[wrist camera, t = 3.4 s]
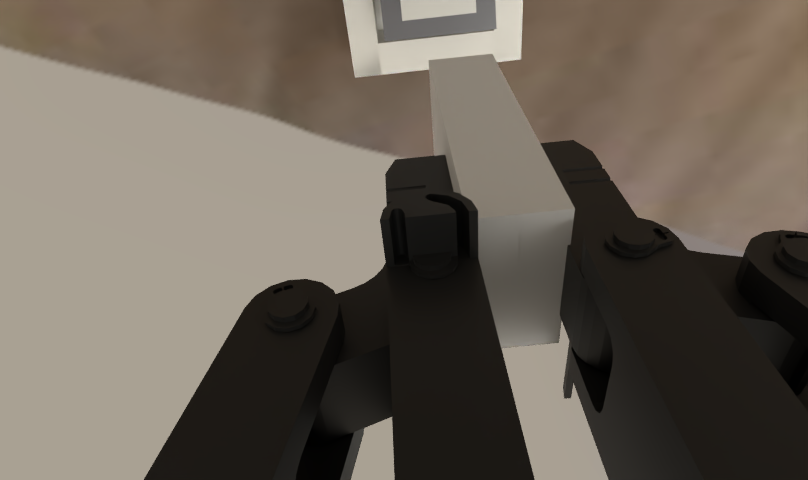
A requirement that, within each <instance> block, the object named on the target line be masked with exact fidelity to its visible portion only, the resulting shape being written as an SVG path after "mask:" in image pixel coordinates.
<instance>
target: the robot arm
mask: <svg viewBox="0 0 808 480" xmlns="http://www.w3.org/2000/svg"><path fill="white" fill-rule="evenodd" d="M429 77H430V94H431V110H432V127H433V144H434V156H428V157H418V158H407V159H397V160H395V161H394V162H393V164H392V165H391V167H390V168H389V170H388V171H387V173H386V174H385V175H386V198H387V206H386V207H385V208H384V210H383V212H382V216H381V219H380V223H381V230H382V238H383V245H384V253H385V260H386V263H385V265H384V267H383V269H382V270H381V271H380V272H379V273H378V274H377V275H376V276H375V277H373V278H372V279H370V280H369V281H367V282H366V283H364V284H362V285H359V286H357V287H355V288H352V289H350V290H347V291H344V292H341V293H338V294H335V292H334V290H332V289H331V288H329V287H328V286H326V285H325V284H323V283H321V282H317V281H312V280H308V279H300V280H288V281H285V282H282V283H279V284H276V285H273V286H270V287H268V288H267V289H265V290H264V291H262V292H261V293H259V294H257V295H256V296H255V297H254V298H253V299H252V300H251V302H250V303H249V304H248V305H247V306H246V307H245V308H244V310H243V312H242V313H241V315H240V317H239V319H238V320H237V322H236V324H235V325H234V327H233V329H232V330H231V332H230V334H229V336H228V338H227V339H226V341H225V343H224V344H223V346H222V347H221V349H220V351H219V353H218V354H217V356H216V358H215V359H214V361H213V363H212V364H211V366H210V368H209V370H208V371H207V373H206V375H205V376H204V378H203V380H202V382H201V383H200V385H199V387H198V388H197V390H196V392H195V394H194V395H193V397H192V398H191V400H190V402H189V404H188V405H187V407H186V409H185V410H184V412H183V414H182V416H181V417H180V419H179V421H178V422H177V424H176V426H175V427H174V429H173V431H172V433H171V434H170V436H169V438H168V440H167V441H166V443H165V445H164V446H163V448H162V450H161V451H160V453H159V455H158V456H157V458H156V460H155V462H154V463H153V465H152V467H151V468H150V470H149V472H148V474H147V475H146V477H145V479H144V480H351V476H352V473H353V469H354V466H355V462H356V458H357V455H358V451H359V448H360V444H361V441H362V437H363V432H364V428H365V427H368V426H370V425H372V424H375V423H377V422H380V421H382V420H384V419H387V418H389V417H392V421H393V447H394V473H395V480H534V476H533V472H532V468H531V464H530V460H529V456H528V452H527V448H526V444H525V440H524V436H523V432H522V429H521V425H520V420H519V416H518V413H517V409H516V405H515V401H514V397H513V393H512V389H511V385H510V381H509V377H508V373H507V369H506V366H505V361H504V358H503V353H502V350H501V348H507V347H518V346H529V345H540V344H550V343H558V342H559V336H560V328H561V320H562V322H563V325H564V327H565V330H566V332H567V335H568V338H569V340H570V342H569V348H568V356H567V363H566V370H565V377H564V385H563V390H564V398H571V394H572V388H573V382H574V385H575V388H576V390H577V393H578V396H579V399H580V401H581V404H582V407H583V410H584V413H585V415H586V418H587V421H588V424H589V426H590V429H591V432H592V435H593V437H594V440H595V443H596V446H597V449H598V452H599V454H600V457H601V460H602V463H603V465H604V468H605V471H606V474H607V476H608V479H609V480H808V233H804V232H797V231H796V232H795V231H785V230H779V231H771V232H764V233H762V234H760V235H758V236H756V237H754V238H752V239H751V240H750V242H749V244H748V246H747V248H746V250H745V253H744V255H743V257H738V256H728V255H720V254H710V253H702V252H696V251H690V250H687V248H686V247H685V246H684V245H683V243H682V242H681V240H680V239H679V238H678V237H677V236H676V235H675V234H674V233H673V232H671V231H670V230H669V229H668V228H666V227H664V226H662V225H660V224H658V223H656V222H654V221H651V220H646V219H642V218H637V216H636V215H635V213H634V212H633V210H632V209H631V207H630V206H629V204H628V203H627V202H626V200H625V199H624V197H623V196H622V194H621V193H620V191H619V190H618V188H617V187H616V185H615V184H614V182H613V181H610V177H609V175H608V174H607V172H606V171H605V169H602V165H601V163H600V162H599V161H598V159H597V158H596V156H595V155H594V153H593V152H592V151H591V150H589V149H587V148H586V147H584V146H582V145H581V144H579V143H577V142H576V141H574V140H570V141H559V142H549V143H540V142H539V140H538V139H537V137H536V135H535V133H534V131H533V129H532V127H531V125H530V124H529V122H528V120H527V118H526V116H525V114H524V112H523V110H522V109H521V107H520V105H519V103H518V101H517V99H516V97H515V96H514V94H513V92H512V90H511V88H510V86H509V84H508V82H507V81H506V79H505V77H504V75H503V73H502V71H501V69H500V67H499V66H498V64H497V62H496V60H495V58H494V56H493V54H484V55H474V56H465V57H455V58H445V59H435V60H429Z"/></svg>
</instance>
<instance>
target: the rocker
mask: <svg viewBox="0 0 808 480" xmlns="http://www.w3.org/2000/svg"><path fill="white" fill-rule="evenodd" d="M380 3H381V12H382V21H383V30H384V39H385V41H393V40H402V39H411V38H420V37H429V36H438V35H447V34H456V33H465V32H474V31H483V30H492V29H497V28H496V5H495V0H380Z"/></svg>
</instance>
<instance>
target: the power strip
mask: <svg viewBox="0 0 808 480" xmlns="http://www.w3.org/2000/svg"><path fill="white" fill-rule="evenodd" d="M343 4H344V11H345V17H346V23H347V30H348V36H349V43H350V49H351V55H352V62H353V68H354V75H355V78H357V77H366V76H375V75H384V74H393V73H402V72H411V71H421V70H429V60H435V59H445V58H455V57H465V56H474V55H484V54H493V56H494V58H495V60H496V62H503V61H512V60H521V42H522V15H523V0H495V5H496V28H497V29H492V30H483V31H474V32H465V33H456V34H447V35H438V36H429V37H420V38H411V39H402V40H393V41H385V39H384V30H383V21H382V12H381V3H380V0H343Z"/></svg>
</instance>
